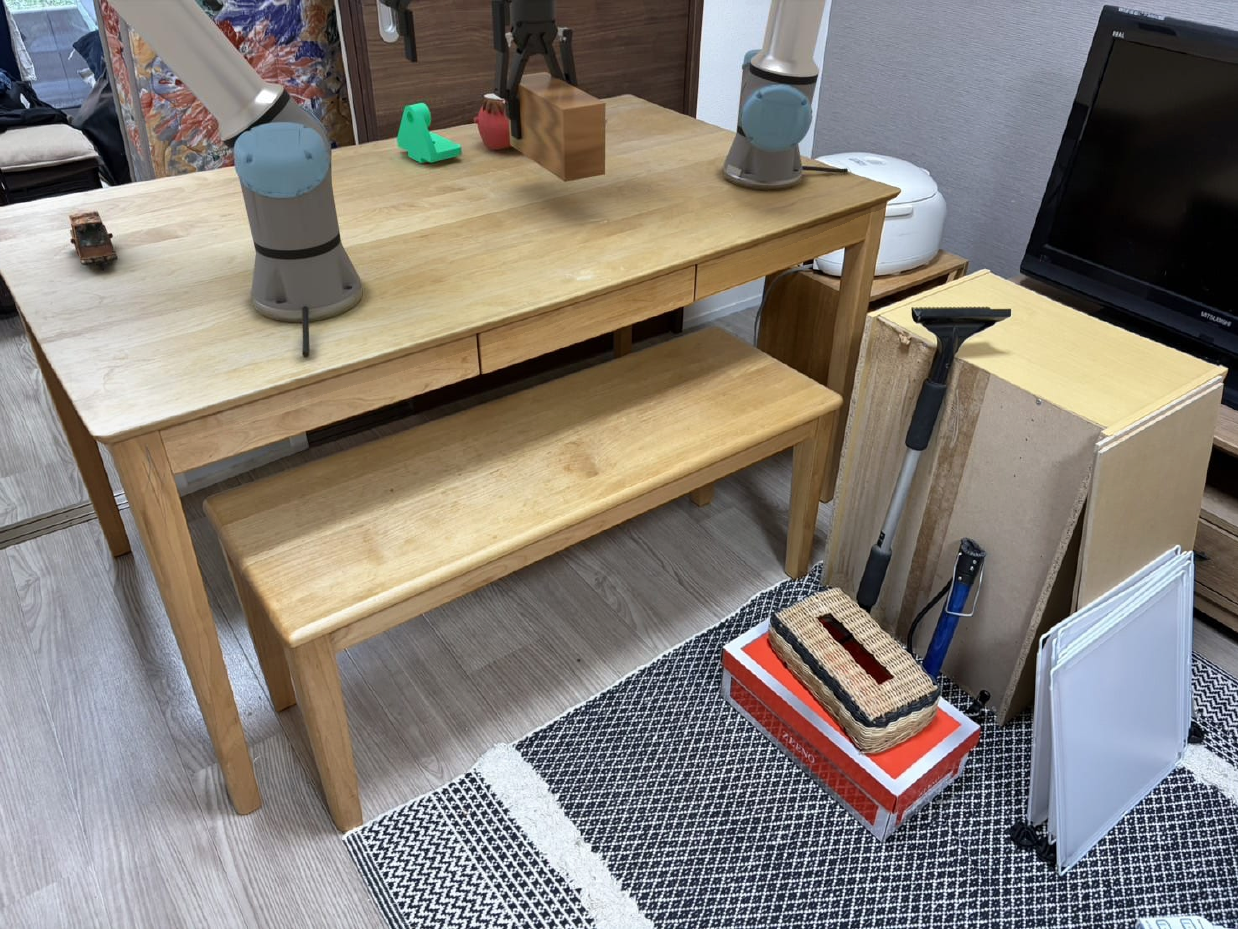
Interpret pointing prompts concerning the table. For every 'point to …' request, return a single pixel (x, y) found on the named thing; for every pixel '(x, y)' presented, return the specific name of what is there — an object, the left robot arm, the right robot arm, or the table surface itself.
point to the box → (561, 127)
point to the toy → (495, 123)
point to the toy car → (91, 239)
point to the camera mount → (423, 137)
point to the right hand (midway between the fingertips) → (537, 133)
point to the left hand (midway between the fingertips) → (456, 55)
